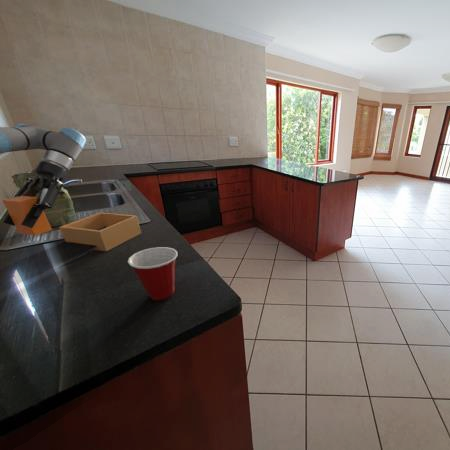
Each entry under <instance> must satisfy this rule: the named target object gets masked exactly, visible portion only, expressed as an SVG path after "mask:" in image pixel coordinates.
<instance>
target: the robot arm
mask: <svg viewBox="0 0 450 450" xmlns="http://www.w3.org/2000/svg"><path fill="white" fill-rule="evenodd" d="M86 142H87V139H86V137H85V136H84V134H82V133H81V132H79V131H78V130H76V129H73V128H72V127H67V126H66V127H61V129H60V130H59V131H54V130H50V129H47V128H42V127H39V126H35V125H33V124H25V123H17V124H16V125H14V126H0V154H6V153H12V152H20V151H30V150H31V151H32V150H44V151H45V153H44V154H43V155H42V157H41V159H40V160H41V161H39V162H38V164H37V165H36V167H35V168H34V171H35V172H37V173H38V175H37V176H36V177H35V178H34V179H30V178H26V180H25V182H24V184H23V185H22V187H21V188H20V189H19V188H18V190H17V191H16V193H15V194H14V196H13V197H12V198H14V197H18V196H29V197H35V196H36V195H37V194H38V193H39V194H38V199H37V201H36V204H33V206H35V207H33V206H32V208H31V209H30V211H29V212H28V214H27V216H26V217H25V219H24V220H23V222H22V224H21V225H24V226H27V227H30V228H33V226H34V225H35V223H36V221H37V220H38V218H39V217H40V215H41V214H42V212H43V210H46V209H47V208H49V209H50V208H52V206H53V204H54V202H55V200H56V197H57V195H58V193H59V191H60V189H61V188H62V187H63V188H64V185H65V183H63V181H64V180H65V178H66V177H67V175H68V172H69V171H70V170H71V168H72V166H73V164H74V163H75V161H76V159H77V157H78V156H79V154H80V153H81V152H82V151H83V149H84V146H85V144H86ZM59 181H60V182H59ZM61 182H62V183H61ZM34 187H35V188H34ZM36 188H37V189H36ZM48 203H49V204H48ZM2 223H3V224H7V225H11V226H13V227H16V226H15V224H14V222H13V220H12V218H11V216H10V214H9V213H8V214H7V215H6V216H5V218H4V219H3V221H2Z"/></svg>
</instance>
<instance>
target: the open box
mask: <svg viewBox="0 0 450 450" xmlns="http://www.w3.org/2000/svg"><path fill="white" fill-rule="evenodd" d="M104 227H105V228H104ZM59 228H60V229H59V230H60V232H61V235H62V236H63V239H64V241H65V242H66V243H73V244H80V245H81V244H82V245H90V246H94V247H92V248H91V250H94V251H100V252H108V251H110V250H112V249H114V248H117V247H118V246H120V245H122V244H124V243H125V242H128V241H129V240H132V239H133V238H135V237H137V236H139V235H141V234H142V229H141V227H140V223H139V218H138V216H137V215H131V214H121V213H110V212H98V213H95V214H92V215H89V216H86V217H84V218H81V219H79V220H76V221H75V222H72V223H69V224H67V225H64V226H61V227H59ZM102 228H103V229H102ZM99 229H101V230H99Z"/></svg>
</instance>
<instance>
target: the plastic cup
mask: <svg viewBox="0 0 450 450" xmlns="http://www.w3.org/2000/svg"><path fill="white" fill-rule="evenodd" d="M178 254H179V253H178V250H176V249H175V248H173V247H169V246H165V247H164V246H158V247H150V248H146V249H142V250H140V251H137V252H135V253H133V254H132V255H131V256H130V257H128V260H127V263H128V265H129V266H130V267H131V268H132V270H133V271H134V273H135V274H136V276H137V278H138V279H139V281H140V283H141V285H142V286H143V288H144V290H145V291H146V293H147V294H148V296H149V297H150V298H151V300H153V301H163V300H166V299H168V298H170V297H172V296H173V295H174V293H175V290H176V287H175V282H176V274H175V273H176V270H175V269H176V259H177V257H178V256H179V255H178Z"/></svg>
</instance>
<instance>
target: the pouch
mask: <svg viewBox="0 0 450 450" xmlns="http://www.w3.org/2000/svg"><path fill="white" fill-rule="evenodd" d="M37 175H38V173H37V172H36V171H35V172H21V173H16V174H13V175H11V178H12V180H13V184H15V186H16V188H17V189H18V190H19V189H20V188H21V187H22V185H23V184H24V182H25V180H26V178H30V179H34V178H35V177H36V176H37ZM59 182H61V183H63V181H59ZM34 188H35V187H34ZM36 189H37V188H36ZM38 194H39V193H38ZM38 194H37V195H36V196H35V197H38ZM73 202H74V201H73V199H72V198H71V196H70V194H69V191H68V190H67V189H65V188H64V186H63V187H62V188H61V189H60V191H59V193H58V195H57V197H56V200H55V202H54V204H53V206H52V208H50V209H49V208H47V209H46V210H43V211H44V213H45V215H46V217H47V220H48V222H49V224H50V226H51V229H52V230H51V231H56V230H60V228H59V227H61V226H64V225H67V224H69V223H72V222H75V221H77V216H76V211H75V208H74V203H73ZM48 204H49V203H48Z"/></svg>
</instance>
